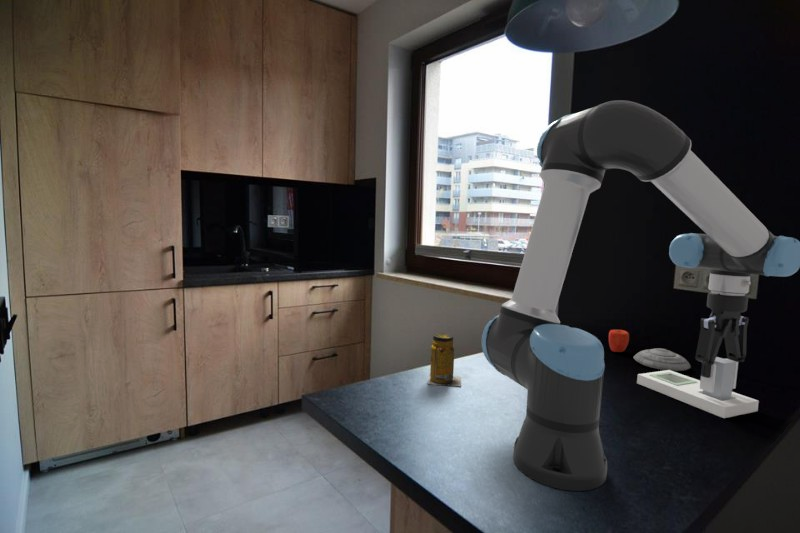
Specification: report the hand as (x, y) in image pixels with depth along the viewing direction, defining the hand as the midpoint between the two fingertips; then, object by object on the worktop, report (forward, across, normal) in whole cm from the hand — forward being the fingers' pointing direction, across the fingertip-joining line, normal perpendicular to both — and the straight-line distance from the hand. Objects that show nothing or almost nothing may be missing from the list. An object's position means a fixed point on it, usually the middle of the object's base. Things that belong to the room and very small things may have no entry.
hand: (717, 388), depth 103 cm
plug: (+4, 0, 0) cm, 4 cm away
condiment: (+4, -55, +34) cm, 65 cm away
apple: (+4, +14, +40) cm, 43 cm away
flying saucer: (+5, +15, +26) cm, 30 cm away
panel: (+4, 0, +6) cm, 7 cm away
